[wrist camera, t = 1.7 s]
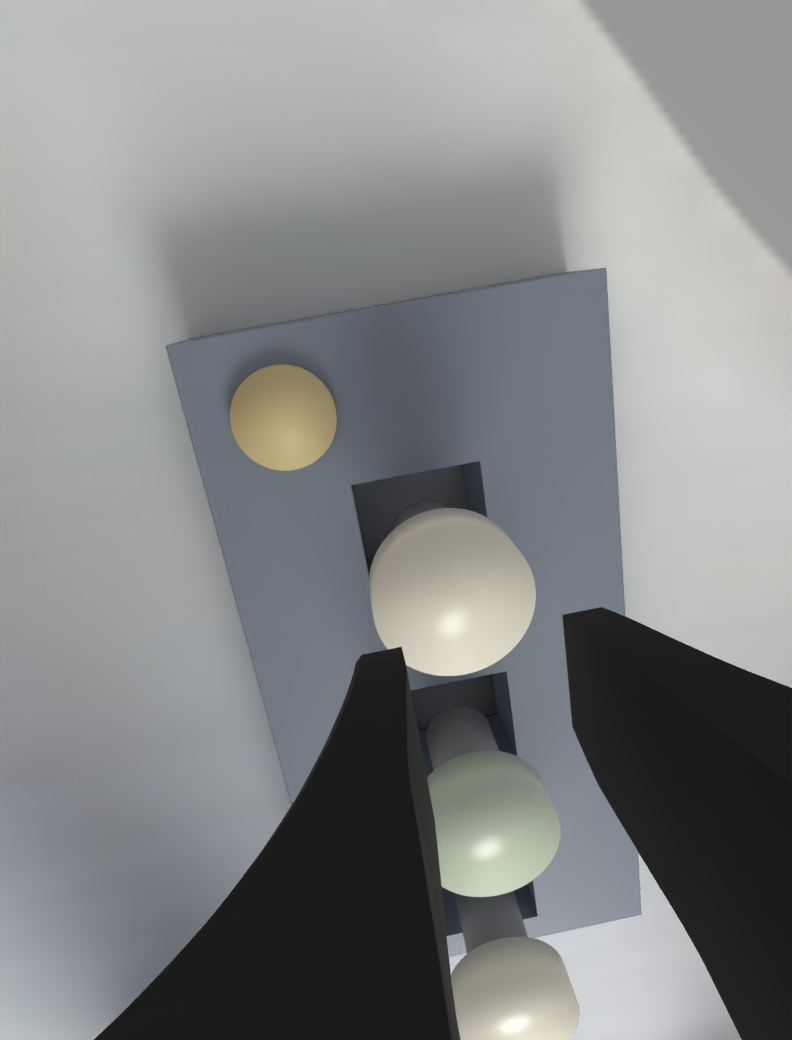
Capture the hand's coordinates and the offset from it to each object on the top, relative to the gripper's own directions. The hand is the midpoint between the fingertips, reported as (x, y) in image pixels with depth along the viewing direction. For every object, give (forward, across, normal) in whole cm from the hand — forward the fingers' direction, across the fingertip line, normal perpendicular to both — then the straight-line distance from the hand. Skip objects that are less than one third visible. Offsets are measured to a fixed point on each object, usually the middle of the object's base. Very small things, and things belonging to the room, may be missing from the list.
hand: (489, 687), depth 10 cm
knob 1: (+7, 0, 0) cm, 7 cm away
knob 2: (+7, 0, +12) cm, 14 cm away
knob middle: (+7, 0, +6) cm, 9 cm away
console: (+9, 0, +4) cm, 10 cm away
